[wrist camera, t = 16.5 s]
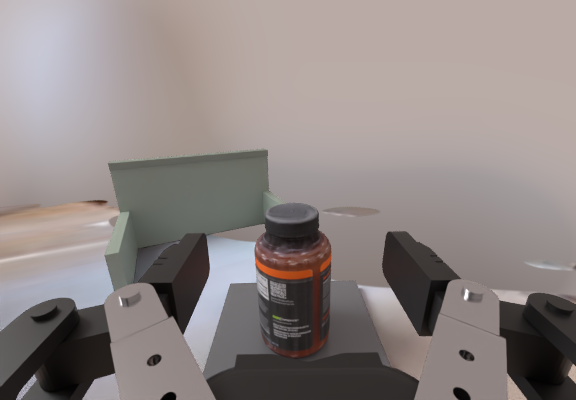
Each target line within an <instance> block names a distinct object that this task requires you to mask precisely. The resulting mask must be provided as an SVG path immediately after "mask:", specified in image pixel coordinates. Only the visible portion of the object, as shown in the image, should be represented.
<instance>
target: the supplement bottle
mask: <svg viewBox="0 0 576 400" xmlns="http://www.w3.org/2000/svg"><path fill="white" fill-rule="evenodd" d="M318 217H319V213H318V211H317V209H315V208H314V207H312V206H310V205H307V204H301V203H285V204H279V205H276V206H273V207H271V208H269V209H268V210H267V211H266V213H265V228H266V232H265V233H263V234H262V235H261V236H260V237H259V239H258V240H257V242H256V245H255V261H256V276H257V288H258V289H257V290H258V302H259V315H260V328H261V334H262V338H263V340H264V342H265V344H266V345H267V346H268V347H269V348H270V349H271V350H272V351H273V352H275V353H277V354H279V355H281V356H285V357H290V358H301V357H305V356H308V355H311V354H313V353H315V352H316V351H318V350H319V349H320V348H321V347H322V346H323V345H324V344H325V342H326V340H327V338H328V335H329V326H330V285H331V245H330V243H329V240H328V239H327V237H326V236H325V235H324V234H323V233H322V232H321V231H319V230H318V228H319V223H318V222H319V219H318Z"/></svg>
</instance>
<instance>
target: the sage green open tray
mask: <svg viewBox="0 0 576 400" xmlns="http://www.w3.org/2000/svg"><path fill="white" fill-rule="evenodd" d="M267 156H268V151H267V150H266V149H256V150H245V151H232V152H220V153H207V154H196V155H183V156H171V157H159V158H147V159H134V160H123V161H111V162H109V163H108V165H109V169H110V172H111V176H112V181H113V185H114V189H115V193H116V197H117V201H118V206H119V210H120V214H119V217H118V219H117V223H116V225H115V228H114V230H113V233H112V236H111V239H110V242H109V244H108V247H107V250H106V253H105V259H106V262H107V266H108V270H109V273H110V277H111V281H112V285H113V288H114V292H115V291H116V290H118V289H120V288H122V287H124V286H127V285H130V284H133V282H134V275H135V267H136V260H137V253H138V248H143V247H148V246H153V245H158V244H163V243H168V242H173V241H178V240H182V238H183V237H184V236H185V234H186V233H205V235H209V234H213V233H219V232H224V231H229V230H233V229H239V228H244V227H249V226H254V225H259V224H265V213H266V211H267V210H268V209H269V208H271V207H273V206H276V205H279V204H285V203H286V202H284V201H283V200H281V199H280V198H278V197H277V196H276V195H274V194H273V193H272V192H270V191H269V182H268V161H267V160H268V159H267Z"/></svg>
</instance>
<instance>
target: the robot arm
mask: <svg viewBox="0 0 576 400" xmlns="http://www.w3.org/2000/svg"><path fill="white" fill-rule="evenodd" d="M382 268H383V273H384V276H385V278H386V280H387V282H388V283H389V285H390V287H391V288H392V290H393V292H394V294H395V295H396V297H397V299H398V300H399V302H400V304H401V306H402V307H403V309H404V311H405V312H406V314H407V316H408V318H409V319H410V321H411V323H412V324H413V326H414V328H415V329H416V331H417V333H418V335H419V336H432V339H431V343H430V346H429V350H428V353H427V357H426V360H425V364H424V367H423V371H422V374H421V378H420V381H418V380H417V379H415V378H414V377H412V376H410V375H408V374H406V373H405V372H402V371H400V370H398V369H395V368H392V367H389V366H385V365H383V364H382V361H381V359H380V356H379V354H378V352H365V353H341V354H337V355H333V356H330V357H326V358H322V359H318V360H314V361H308V362H307V361H302V360H297V359H293V358H288V357H284V356H279V355H275V354H237V356H236V362H235V367H232V368H229V369H226V370H224V371H221V372H219V373H217V374H215V375H213V376H211V377H210V378H208V379H206V380H205V378H204V376H203V374H202V372H201V370H200V368H199V366H198V364H197V362H196V360H195V358H194V356H193V354H192V352H191V350H190V348H189V346H188V345H187V343H186V341H185V339H184V337H183V334H184V332H185V330H186V327H187V325H188V323H189V321H190V318H191V316H192V314H193V311H194V309H195V307H196V305H197V302H198V300H199V298H200V295H201V293H202V291H203V288H204V286H205V284H206V282H207V279H208V276H209V270H210V264H209V255H208V247H207V238H206V235H205V233H186V234H185V236H184V237H183V238H182V240H181V241H180V242H179V244H173V245H172V246H170V247H169V248H167V249H165V250H164V251H163V252H162V253H161V255H160V256H159V257H158V259H157V260H156V261H155V262H154V263H153V265H152V266H151V267H150V268H149V269H148V271H147V272H146V273H145V274H144V275H143V277H142V278H141V279H140V280H139V281H138V283H135V284H130V285H127V286H124V287H122V288H120V289H118V290H116V291H115V292H113V293H112V294H111V295H109V296H108V298H107V299H106V301H105V303H104V304H103V305H99V306H94V307H90V308H85V309H80V310H77V308H76V305H75V302H74V300H72V299H70V298H57V299H52V300H48V301H45V302H42V303H40V304H38V305H35V306H33V307H31V308H30V309H28V310H26V311H25V312H23V313H22V314H21V315H20V316H18V317H17V318H16V319H15V320H14V321H13V322H11V323H10V324H9V325H8V326H7V327H6V328H4V329H3V330H2V331H1V332H0V400H16V398H17V396H18V394H19V392H20V390H21V389H22V388H23V387H24V385H25V384H26V383H27V382H28V381H29V380H30V378H31V377H32V376H33V375H34V374H35V376H36V378H37V381H36V382H35V383H34V384H33V386H32V387H31V388H30V389H29V390H28V392H27V393H26V394H25V395H24V396H23V398H22V399H21V400H82V398H83V397H84V395H85V394H86V392H87V390H88V389H89V387H90V386H91V384H92V382H93V381H94V379H97V378H100V377H104V376H107V375H111V374H114V373H116V378H117V383H118V389H119V394H120V399H121V400H508V391H507V373H508V375H509V376H510V377H511V379H512V380H513V381H514V383H515V384H516V385H517V387H518V388H519V389H520V390H521V392H522V393H523V394H524V396H525V397H526V398H527V400H576V384H575V382H574V381H573V380H572V379H571V378H570V377H569V376H568V373H569V371H570V369H571V367H572V365H573V364H574V365H575V366H576V304H574V303H572V302H570V301H568V300H565V299H563V298H560V297H557V296H554V295H550V294H545V293H533V294H530V295H529V296H528V299H527V302H526V305H520V304H515V303H510V302H505V301H500V300H499V298H498V296H497V295H496V294H495V293H494V292H493V291H492V290H490V289H489V288H487V287H485V286H483V285H481V284H479V283H477V282H473V281H470V280H464V279H461V278H460V277H459V276H458V275H457V274H456V273H455V272H454V271H453V270H452V269H451V268H449V266H447V264H445V263H443V261H442V260H441V259H440V258H439V257H437V255H436V254H435V253H434V252H433V251H432V250H431V249H430V248H429V247H427V246H425V245H423V244H421V243H420V242H416V241H415V240H414V239H413V238H412V237H411V236H410V235H409V234H408V233H407V232H405V231H402V232H388V233H387V235H386V240H385V248H384V255H383V263H382Z"/></svg>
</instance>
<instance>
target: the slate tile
mask: <svg viewBox="0 0 576 400" xmlns="http://www.w3.org/2000/svg"><path fill="white" fill-rule="evenodd" d="M257 289H258V288H257V283H237V284H230V287H229V290H228V293H227V297H226V300H225V303H224V306H223V310H222V313H221V316H220V320H219V323H218V326H217V329H216V333H215V336H214V339H213V343H212V346H211V349H210V352H209V356H208V359H207V362H206V365H205V369H204V372H203V376H204V378H205V380H206V379H208V378H210V377H211V376H213V375H215V374H217V373H219V372H221V371H224V370H226V369H229V368H232V367H235V362H236V356H237V354H275V355H279V354H277V353H275V352H273V351H272V350H271V349H270V348H269V347H268V346H267V345H266V344H265V342H264V340H263V338H262V334H261V328H260V315H259V302H258V290H257ZM365 352H378V354H379V356H380V359H381V361H382V364H383V365H385V366H389V367H391V366H390V364H389V361H388V359H387V356H386V354H385V351H384V349H383V347H382V344H381V342H380V339H379V337H378V335H377V332H376V330H375V327H374V325H373V322H372V320H371V318H370V315H369V313H368V310H367V308H366V305H365V303H364V301H363V298H362V296H361V293H360V291H359V288H358V286H357V284H356V281H331V285H330V326H329V335H328V338H327V340H326V342H325V344H324V345H323V346H322V347H321V348H320V349H319V350H318V351H316V352H315V353H313V354H311V355H308V356H305V357H301V358H293V359H297V360H302V361H307V362H308V361H314V360H318V359H322V358H326V357H330V356H333V355H337V354H341V353H365ZM279 356H281V355H279ZM284 357H285V356H284ZM288 358H290V357H288Z"/></svg>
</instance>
